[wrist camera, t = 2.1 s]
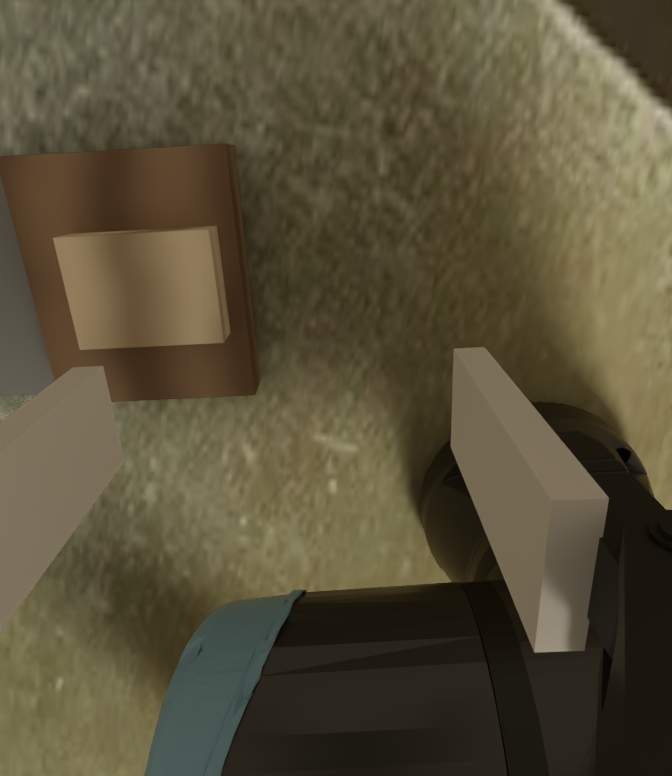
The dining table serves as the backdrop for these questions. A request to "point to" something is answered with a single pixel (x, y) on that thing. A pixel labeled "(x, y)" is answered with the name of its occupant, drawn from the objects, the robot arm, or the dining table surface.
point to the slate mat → (18, 319)
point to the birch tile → (145, 287)
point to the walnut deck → (136, 212)
